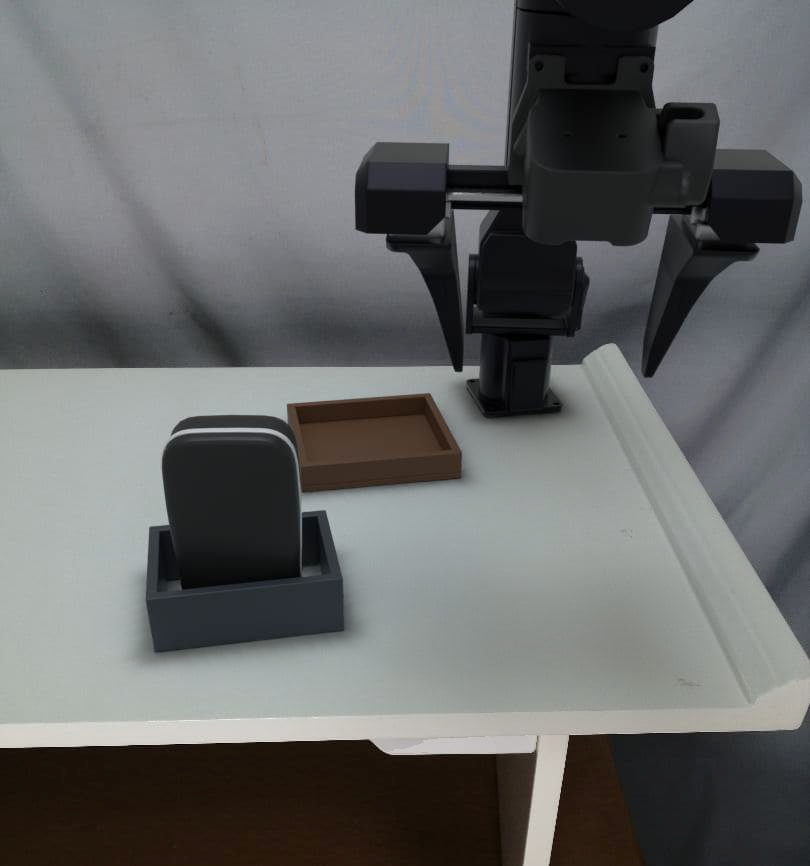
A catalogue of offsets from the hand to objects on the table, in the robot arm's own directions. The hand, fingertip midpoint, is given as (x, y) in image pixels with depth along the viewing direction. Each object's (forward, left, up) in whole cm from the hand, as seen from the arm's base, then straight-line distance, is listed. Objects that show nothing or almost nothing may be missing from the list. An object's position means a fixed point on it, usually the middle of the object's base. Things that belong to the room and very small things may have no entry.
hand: (552, 372), depth 47 cm
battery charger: (-3, -16, -14) cm, 22 cm away
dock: (-3, -16, -14) cm, 21 cm away
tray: (-20, -6, -14) cm, 25 cm away
